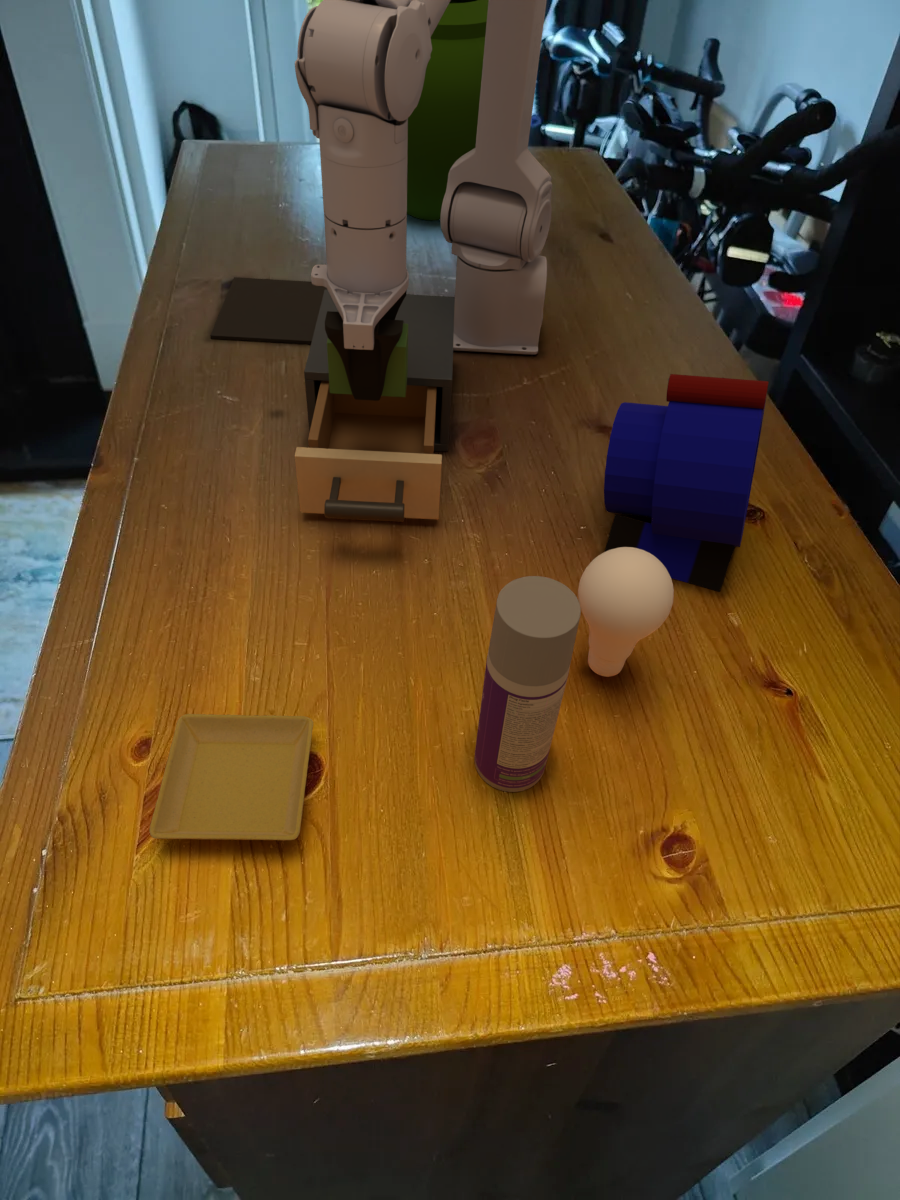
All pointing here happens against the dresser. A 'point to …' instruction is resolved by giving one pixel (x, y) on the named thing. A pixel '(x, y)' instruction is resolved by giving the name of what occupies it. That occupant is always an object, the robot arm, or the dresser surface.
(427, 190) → the vase
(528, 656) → the container
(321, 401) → the drawer
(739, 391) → the alarm clock
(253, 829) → the saucer
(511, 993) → the dresser surface
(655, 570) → the lightbulb
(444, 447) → the cabinet
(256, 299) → the mat
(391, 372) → the block
